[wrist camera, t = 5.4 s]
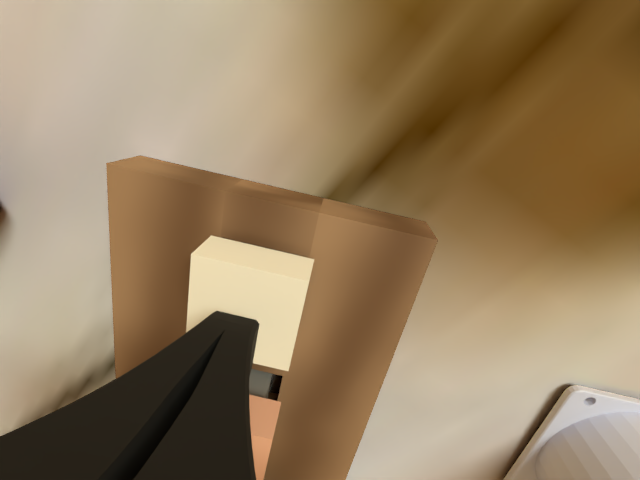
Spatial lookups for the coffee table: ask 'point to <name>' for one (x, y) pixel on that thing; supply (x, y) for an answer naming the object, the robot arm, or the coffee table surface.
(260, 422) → the terracotta key
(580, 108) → the coffee table surface
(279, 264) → the cream key
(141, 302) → the brown wooden board
